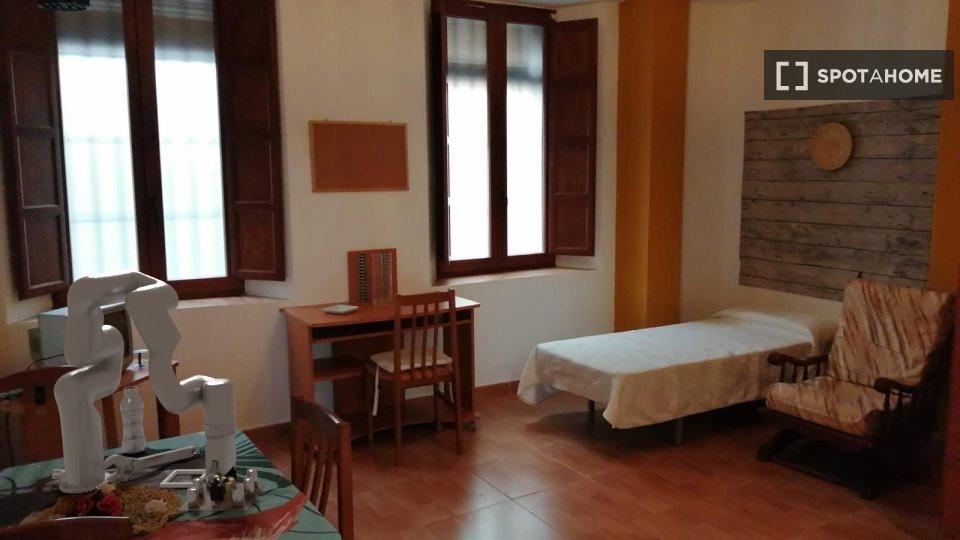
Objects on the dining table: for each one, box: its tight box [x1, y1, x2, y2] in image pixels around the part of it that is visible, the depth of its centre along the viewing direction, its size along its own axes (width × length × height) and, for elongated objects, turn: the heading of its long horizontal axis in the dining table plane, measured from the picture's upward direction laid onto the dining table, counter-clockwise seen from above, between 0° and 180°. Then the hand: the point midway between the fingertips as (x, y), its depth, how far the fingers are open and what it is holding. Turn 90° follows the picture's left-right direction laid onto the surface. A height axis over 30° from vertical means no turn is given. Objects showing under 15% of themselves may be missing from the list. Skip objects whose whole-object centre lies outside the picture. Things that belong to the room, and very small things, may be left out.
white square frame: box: [159, 468, 206, 489], centre depth 204 cm, size 10×10×2 cm
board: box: [177, 482, 267, 512], centre depth 194 cm, size 17×17×1 cm
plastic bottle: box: [119, 385, 147, 455], centre depth 227 cm, size 6×7×20 cm
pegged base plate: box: [186, 467, 259, 509], centre depth 194 cm, size 16×15×4 cm
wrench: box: [102, 445, 200, 482], centre depth 214 cm, size 8×2×30 cm
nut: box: [216, 476, 236, 501], centre depth 194 cm, size 6×6×4 cm
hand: (224, 492), depth 194 cm, fingers open, 9 cm apart
